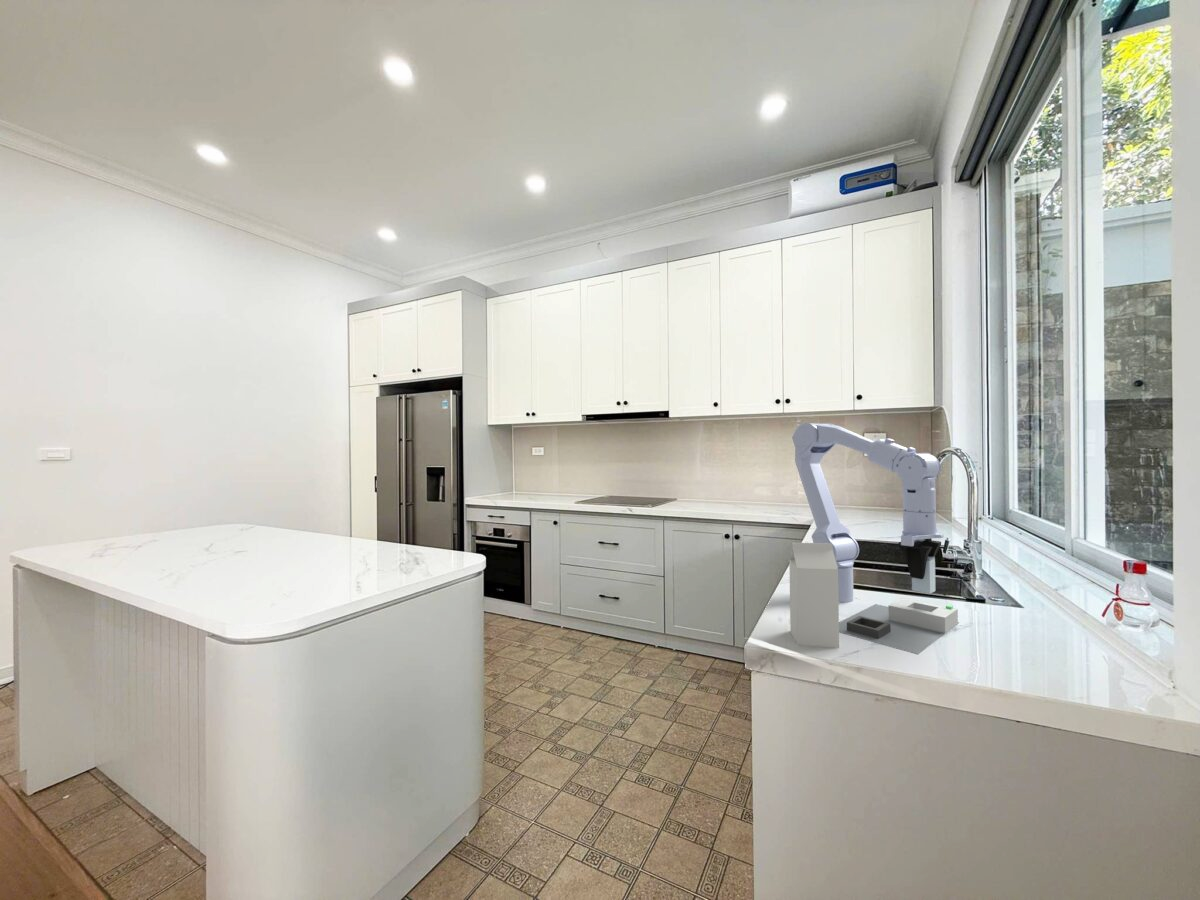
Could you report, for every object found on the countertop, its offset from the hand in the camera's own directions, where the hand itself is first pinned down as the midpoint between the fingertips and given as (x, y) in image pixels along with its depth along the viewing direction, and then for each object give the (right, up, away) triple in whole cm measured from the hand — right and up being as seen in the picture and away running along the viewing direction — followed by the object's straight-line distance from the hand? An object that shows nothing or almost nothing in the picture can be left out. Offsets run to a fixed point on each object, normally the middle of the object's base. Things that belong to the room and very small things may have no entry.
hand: (920, 576), depth 98 cm
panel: (-7, -10, -2) cm, 12 cm away
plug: (0, -3, 0) cm, 3 cm away
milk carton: (-26, -11, -8) cm, 29 cm away
